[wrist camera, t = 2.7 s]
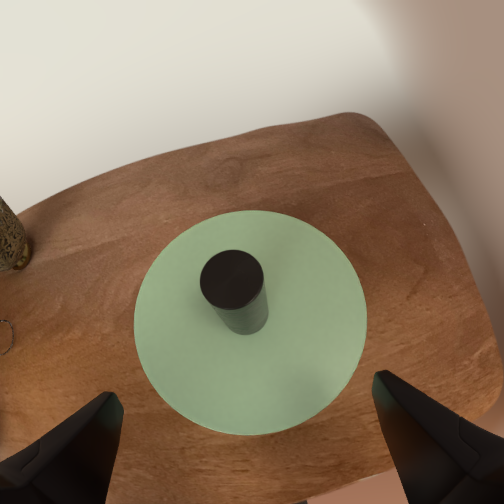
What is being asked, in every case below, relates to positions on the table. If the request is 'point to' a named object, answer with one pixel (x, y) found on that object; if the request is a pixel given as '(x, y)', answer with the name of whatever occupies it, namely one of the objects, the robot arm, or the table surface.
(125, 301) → the table surface
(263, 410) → the lid
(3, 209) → the cup
